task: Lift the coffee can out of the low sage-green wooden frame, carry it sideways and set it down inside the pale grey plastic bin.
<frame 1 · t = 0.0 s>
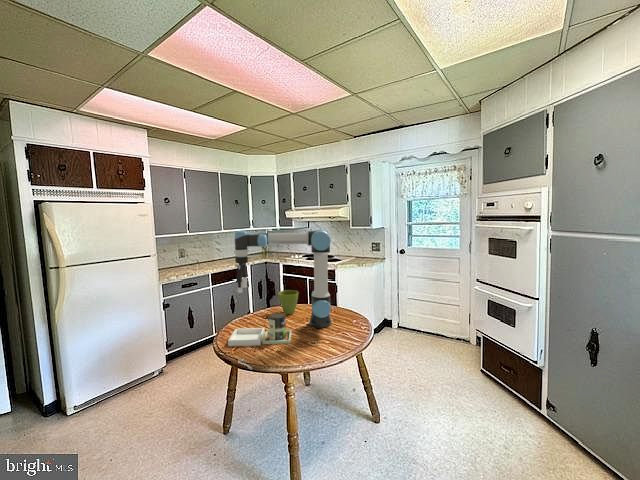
hand: (242, 289, 187), 28 cm above the table, fingers open, 13 cm apart
bin: (247, 339, 179), on the table
flower pot: (289, 313, 228), on the table
coffee can: (277, 338, 181), resting in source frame
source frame: (277, 338, 181), on the table
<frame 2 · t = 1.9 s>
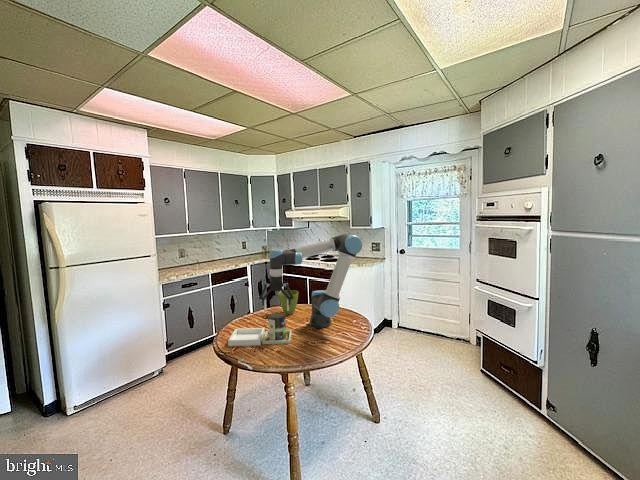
hand: (276, 310, 180), 17 cm above the table, fingers open, 13 cm apart
nothing on the table moved.
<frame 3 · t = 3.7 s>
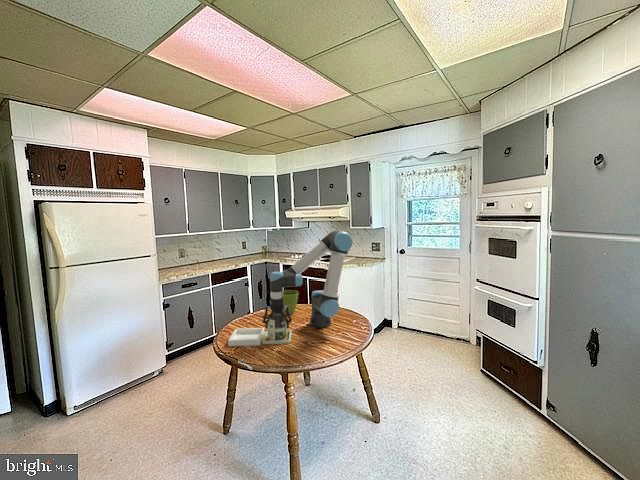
hand: (277, 333, 181), 3 cm above the table, fingers closed on coffee can, 10 cm apart
coffee can: (277, 338, 181), resting in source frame, touching gripper
everything else where it was.
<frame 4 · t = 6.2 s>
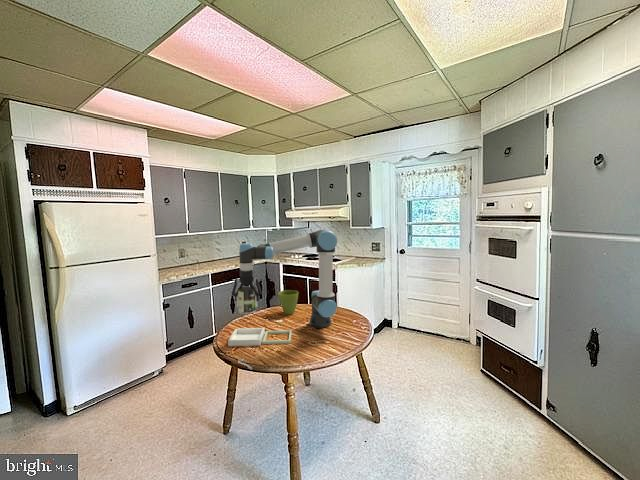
hand: (247, 306, 178), 20 cm above the table, fingers closed on coffee can, 10 cm apart
coffee can: (247, 311, 178), point 17 cm above the table, touching gripper
everything else where it was.
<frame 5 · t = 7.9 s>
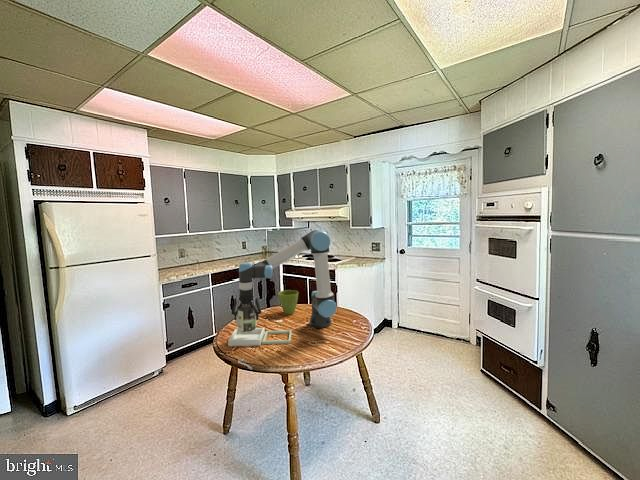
hand: (246, 325, 179), 9 cm above the table, fingers closed on coffee can, 10 cm apart
coffee can: (246, 330, 179), point 6 cm above the table, touching gripper
everything else where it was.
when the fingers open (6 cm above the table, at t = 9.0 s): coffee can drops 2 cm, resting on bin.
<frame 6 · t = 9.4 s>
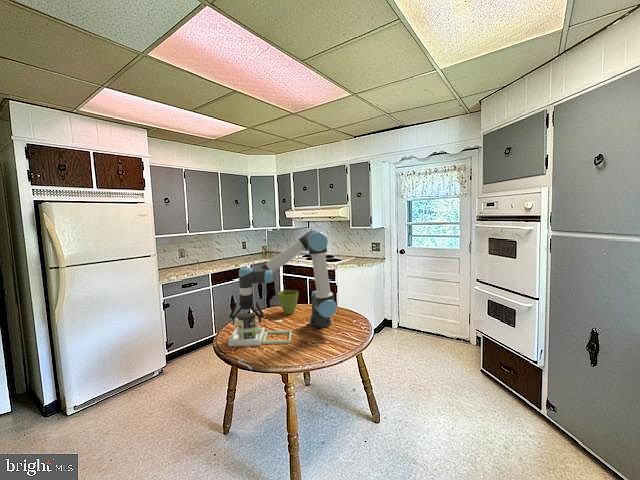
hand: (247, 328, 179), 7 cm above the table, fingers open, 13 cm apart
coffee can: (247, 338, 179), resting on bin
everything else where it was.
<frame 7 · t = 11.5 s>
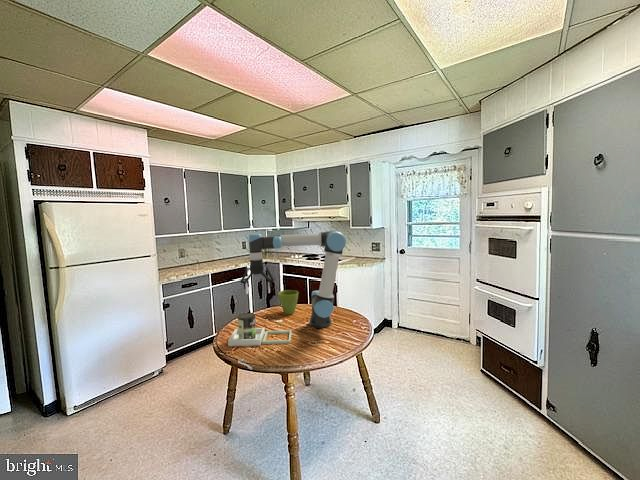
hand: (258, 293, 184), 26 cm above the table, fingers open, 13 cm apart
nothing on the table moved.
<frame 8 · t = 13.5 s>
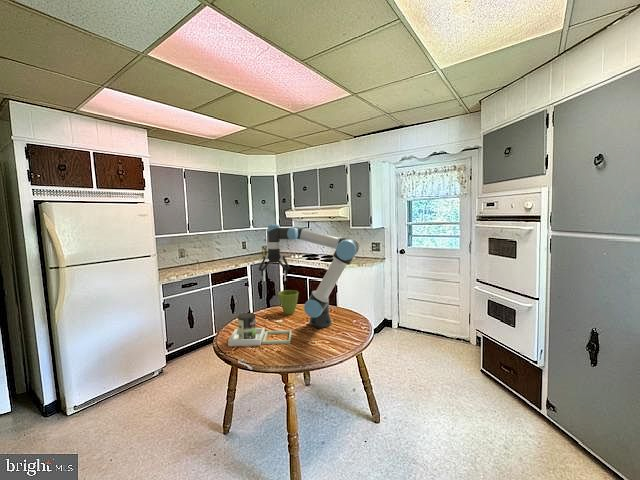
hand: (274, 280, 195), 32 cm above the table, fingers open, 13 cm apart
nothing on the table moved.
at the end: coffee can inside the target area on the bin (0.1 cm from its centre), point 0.4 cm above the bin's base; coffee can tilted 0°; the gripper is holding nothing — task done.
